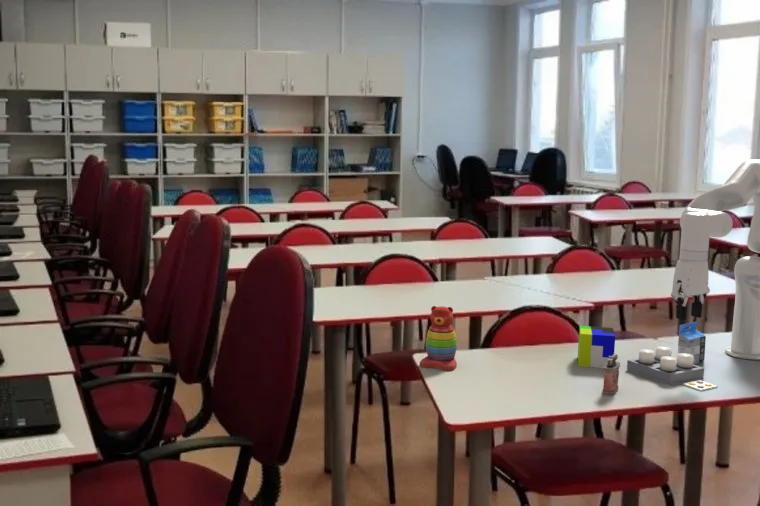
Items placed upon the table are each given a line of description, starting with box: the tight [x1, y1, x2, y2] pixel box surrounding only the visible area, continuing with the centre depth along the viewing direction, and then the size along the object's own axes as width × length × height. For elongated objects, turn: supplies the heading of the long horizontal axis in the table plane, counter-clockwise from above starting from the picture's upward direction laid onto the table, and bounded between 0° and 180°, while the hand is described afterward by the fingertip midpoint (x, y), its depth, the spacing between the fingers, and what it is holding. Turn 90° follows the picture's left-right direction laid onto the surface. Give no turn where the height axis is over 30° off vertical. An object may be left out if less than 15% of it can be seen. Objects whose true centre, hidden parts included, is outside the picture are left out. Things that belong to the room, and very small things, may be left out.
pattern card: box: [682, 379, 719, 392], centre depth 231 cm, size 7×6×1 cm
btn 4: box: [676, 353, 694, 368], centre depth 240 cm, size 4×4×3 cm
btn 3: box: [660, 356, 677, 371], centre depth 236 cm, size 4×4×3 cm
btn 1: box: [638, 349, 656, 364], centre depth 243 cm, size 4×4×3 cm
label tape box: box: [677, 321, 707, 365], centre depth 252 cm, size 9×4×12 cm, turn 126°
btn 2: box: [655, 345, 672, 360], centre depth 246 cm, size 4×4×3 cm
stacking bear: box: [419, 305, 458, 371], centre depth 246 cm, size 11×10×18 cm
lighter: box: [601, 353, 621, 397], centre depth 225 cm, size 8×3×10 cm, turn 148°
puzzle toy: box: [577, 325, 616, 368], centre depth 251 cm, size 10×10×10 cm
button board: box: [626, 357, 705, 386], centre depth 242 cm, size 14×16×3 cm
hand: (688, 317), depth 237 cm, fingers open, 5 cm apart
